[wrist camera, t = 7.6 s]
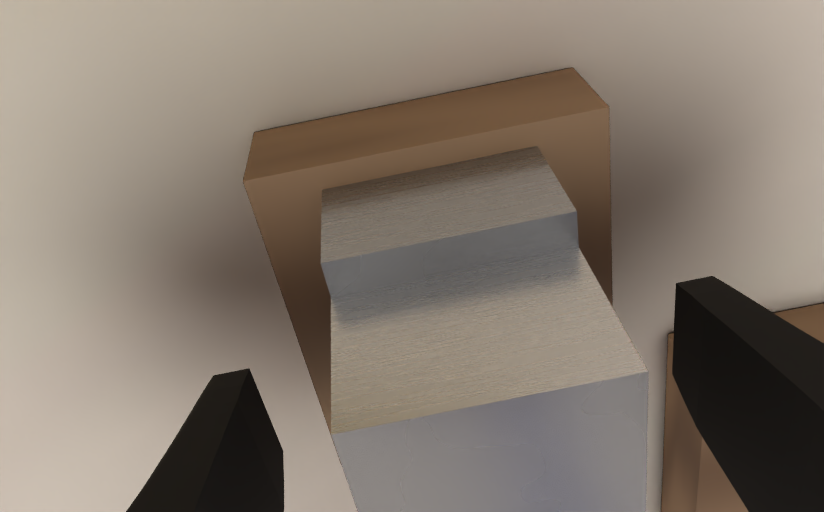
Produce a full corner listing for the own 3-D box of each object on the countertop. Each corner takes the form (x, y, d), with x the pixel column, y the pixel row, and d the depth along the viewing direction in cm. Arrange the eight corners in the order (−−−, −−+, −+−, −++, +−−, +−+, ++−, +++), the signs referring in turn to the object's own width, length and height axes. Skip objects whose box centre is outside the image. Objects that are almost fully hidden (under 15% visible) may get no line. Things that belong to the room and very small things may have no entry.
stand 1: (585, 350, 17) (614, 411, 15) (339, 399, 17) (341, 465, 15) (572, 67, 13) (608, 107, 11) (254, 132, 13) (242, 180, 11)
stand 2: (862, 474, 20) (910, 534, 19) (661, 514, 21) (690, 577, 19) (916, 284, 17) (982, 338, 15) (668, 333, 17) (705, 392, 15)
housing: (558, 403, 15) (643, 627, 11) (391, 436, 15) (413, 671, 11) (537, 145, 11) (649, 330, 7) (321, 189, 11) (317, 397, 7)
